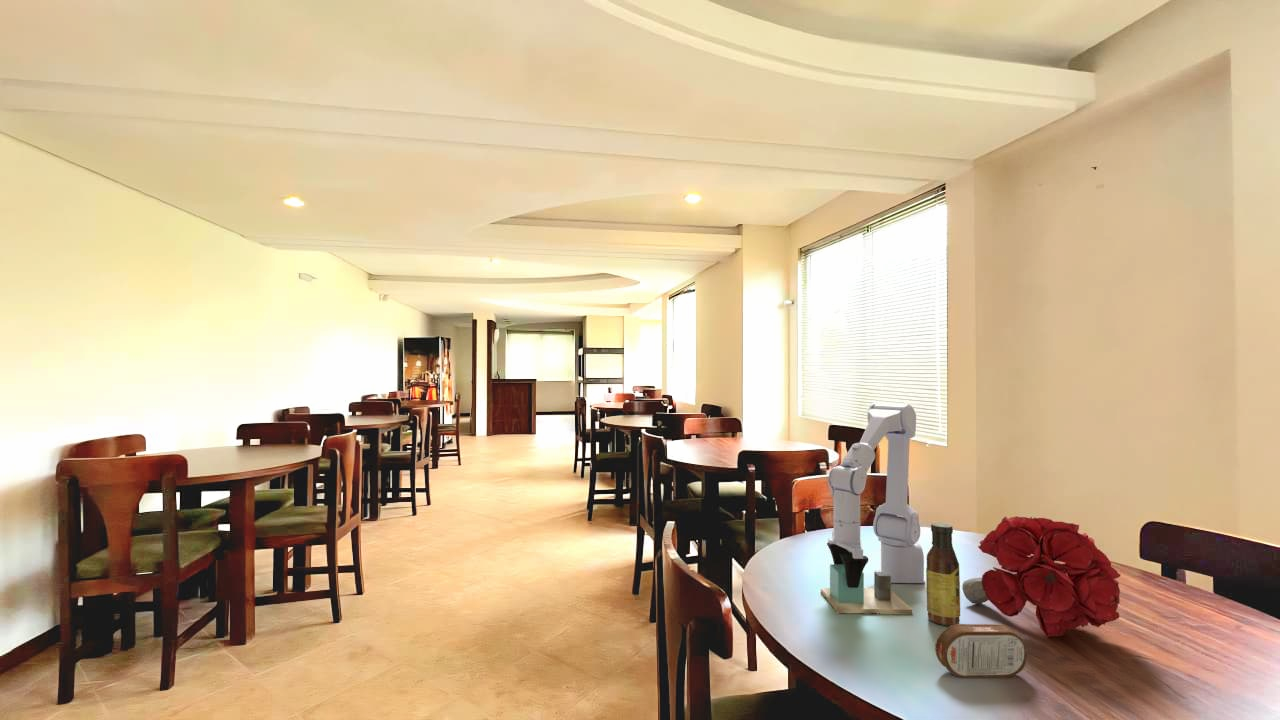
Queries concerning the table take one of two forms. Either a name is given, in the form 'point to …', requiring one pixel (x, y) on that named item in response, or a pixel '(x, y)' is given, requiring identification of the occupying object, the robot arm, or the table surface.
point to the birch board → (873, 599)
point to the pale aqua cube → (844, 586)
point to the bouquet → (1047, 575)
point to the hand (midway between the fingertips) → (846, 580)
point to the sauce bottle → (942, 577)
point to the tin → (981, 651)
